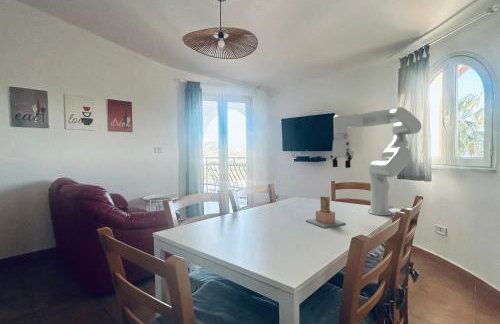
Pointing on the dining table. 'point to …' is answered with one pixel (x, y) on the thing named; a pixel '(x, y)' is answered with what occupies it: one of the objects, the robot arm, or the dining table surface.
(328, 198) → the stick
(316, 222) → the square socket base
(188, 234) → the dining table surface
